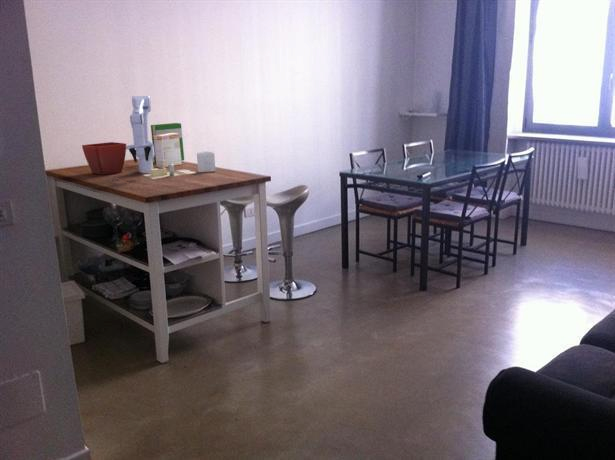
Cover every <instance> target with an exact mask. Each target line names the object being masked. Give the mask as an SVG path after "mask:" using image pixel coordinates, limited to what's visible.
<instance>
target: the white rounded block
mask: <svg viewBox="0 0 615 460" xmlns="http://www.w3.org/2000/svg"><path fill="white" fill-rule="evenodd" d="M215 158H216V157H215V152H214V151H212V150H209V149H207V150H201V151H198V153H196V159H197V160H196V161H197V171H198V172H197V173H204V172H205V173H212V172H216V159H215Z"/></svg>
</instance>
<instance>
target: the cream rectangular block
mask: <svg viewBox="0 0 615 460" xmlns="http://www.w3.org/2000/svg"><path fill="white" fill-rule="evenodd" d="M167 168H168V167H156V168H155V167H154V168H153V169H150V173H149V174H150V175H151V176H161V175H167V172H168V169H167Z"/></svg>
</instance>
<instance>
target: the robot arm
mask: <svg viewBox="0 0 615 460" xmlns="http://www.w3.org/2000/svg"><path fill="white" fill-rule="evenodd" d="M131 103H132V107H133V109H132V113H131V114H130V115H129V121H130V126H131V128H132V129H131V130H132V138H133V140H132V141H133V144H129V145H126V151H127V150H128V151H129V153H130V155H131V156H132V158H133V161H134V163H138V170H139V171H138V173H141V174H150V169H154V159H153V158H154V154H155V153H154V145H153V143H152V141H150V140H149V125H148V124H149V122H148V117H149V116H148V114H149V113H150V112H151V110H152V101H151V97H150V95H139V96H138V95H137V96H135V95H133V96H131ZM137 158H138V159H137Z"/></svg>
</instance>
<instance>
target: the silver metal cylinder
mask: <svg viewBox="0 0 615 460" xmlns="http://www.w3.org/2000/svg"><path fill="white" fill-rule="evenodd" d="M168 166H169V167H168V172H169V176H171V177H175V176H174V175H175V174H174V171H175V165H174V164H169V165H168Z"/></svg>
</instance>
